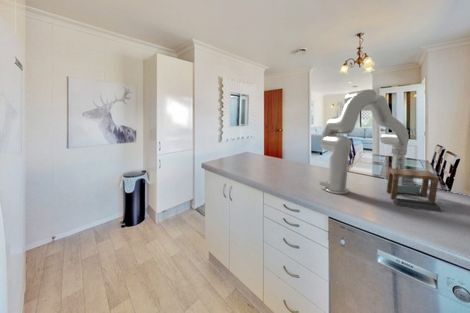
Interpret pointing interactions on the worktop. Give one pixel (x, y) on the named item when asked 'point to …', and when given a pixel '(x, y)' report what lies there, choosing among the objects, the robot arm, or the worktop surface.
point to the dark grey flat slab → (417, 204)
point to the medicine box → (405, 181)
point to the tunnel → (418, 174)
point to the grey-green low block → (407, 188)
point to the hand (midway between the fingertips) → (395, 179)
